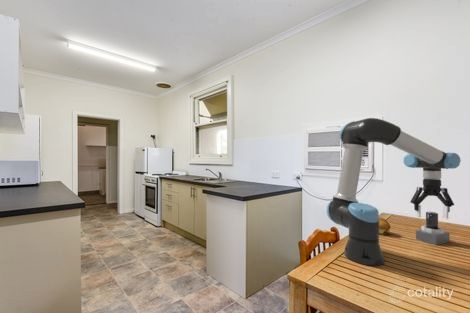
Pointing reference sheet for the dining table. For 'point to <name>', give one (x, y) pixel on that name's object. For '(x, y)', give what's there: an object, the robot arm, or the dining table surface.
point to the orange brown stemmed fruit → (383, 226)
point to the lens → (432, 220)
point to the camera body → (432, 235)
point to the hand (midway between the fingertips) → (431, 217)
